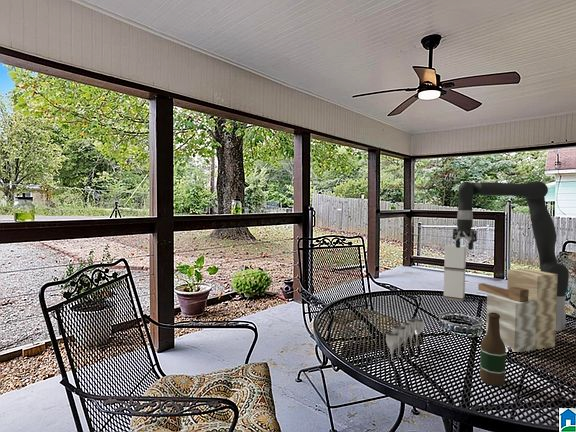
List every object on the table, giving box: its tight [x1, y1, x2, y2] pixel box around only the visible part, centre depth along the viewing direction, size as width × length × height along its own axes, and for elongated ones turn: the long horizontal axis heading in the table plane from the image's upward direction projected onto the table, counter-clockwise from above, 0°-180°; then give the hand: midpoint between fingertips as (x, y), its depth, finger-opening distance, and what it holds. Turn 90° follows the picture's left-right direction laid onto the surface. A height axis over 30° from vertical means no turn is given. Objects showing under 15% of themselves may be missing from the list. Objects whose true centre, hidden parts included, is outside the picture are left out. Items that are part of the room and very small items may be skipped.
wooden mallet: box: [477, 282, 529, 302], centre depth 161 cm, size 5×22×5 cm, turn 19°
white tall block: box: [442, 244, 467, 303], centre depth 234 cm, size 11×11×35 cm
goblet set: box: [385, 317, 425, 362], centre depth 145 cm, size 28×6×13 cm, turn 137°
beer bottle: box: [479, 312, 507, 387], centre depth 124 cm, size 8×8×24 cm
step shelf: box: [485, 268, 558, 353], centre depth 158 cm, size 24×14×32 cm, turn 109°
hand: (464, 248), depth 192 cm, fingers open, 8 cm apart
